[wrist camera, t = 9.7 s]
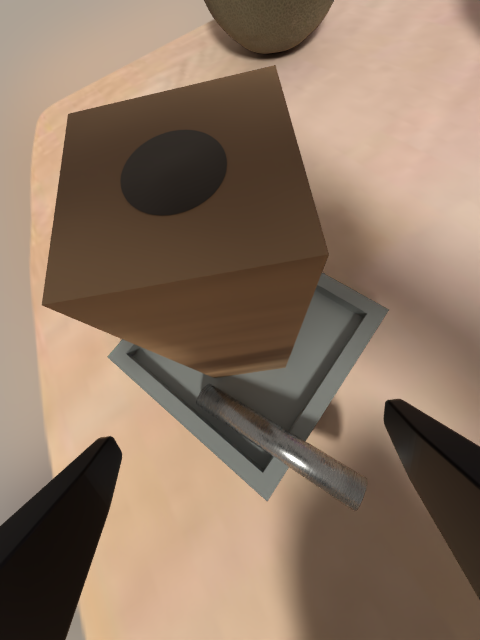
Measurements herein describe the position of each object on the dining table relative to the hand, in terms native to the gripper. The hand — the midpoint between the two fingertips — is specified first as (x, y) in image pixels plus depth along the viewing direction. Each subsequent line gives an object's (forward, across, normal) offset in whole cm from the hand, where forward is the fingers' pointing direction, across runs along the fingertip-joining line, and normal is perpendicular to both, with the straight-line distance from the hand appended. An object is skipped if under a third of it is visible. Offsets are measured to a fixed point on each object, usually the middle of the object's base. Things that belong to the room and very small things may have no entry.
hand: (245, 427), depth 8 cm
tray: (+10, 0, +3) cm, 11 cm away
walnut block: (+10, 0, +2) cm, 10 cm away
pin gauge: (+4, 0, +7) cm, 8 cm away
